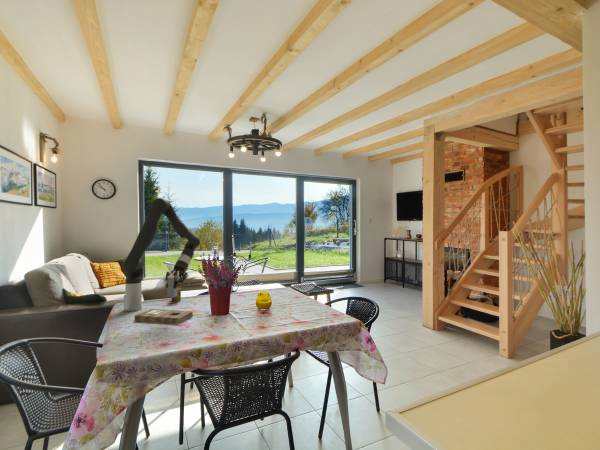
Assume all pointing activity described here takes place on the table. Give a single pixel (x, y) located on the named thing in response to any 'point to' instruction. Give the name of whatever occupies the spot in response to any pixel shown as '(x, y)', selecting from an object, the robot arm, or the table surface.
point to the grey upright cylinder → (171, 281)
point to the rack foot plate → (164, 316)
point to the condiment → (177, 298)
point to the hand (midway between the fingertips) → (170, 287)
